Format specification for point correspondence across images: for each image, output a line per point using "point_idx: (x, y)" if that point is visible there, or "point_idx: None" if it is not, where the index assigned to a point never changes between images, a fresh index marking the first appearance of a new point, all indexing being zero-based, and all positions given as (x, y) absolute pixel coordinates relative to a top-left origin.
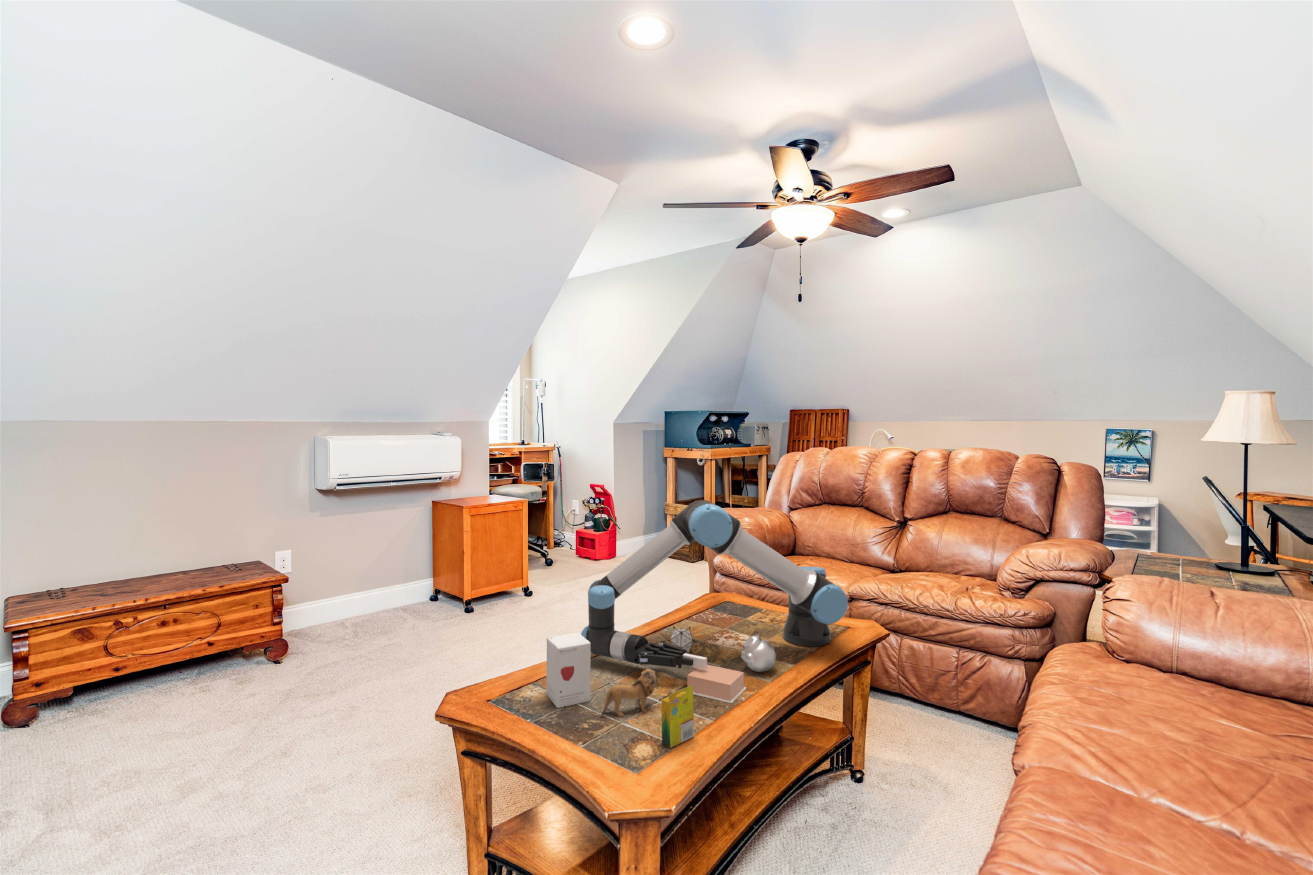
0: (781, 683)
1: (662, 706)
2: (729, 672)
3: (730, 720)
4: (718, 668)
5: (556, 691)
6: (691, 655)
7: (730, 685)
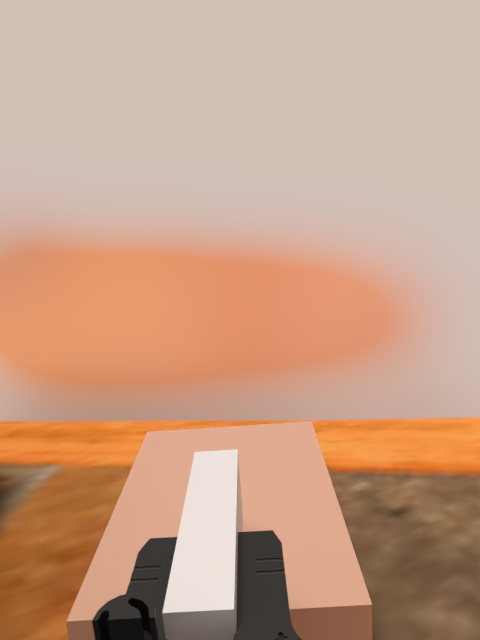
0: (66, 444)
1: None
2: (173, 461)
3: (442, 448)
4: (134, 510)
5: None
6: (202, 536)
7: (310, 424)
